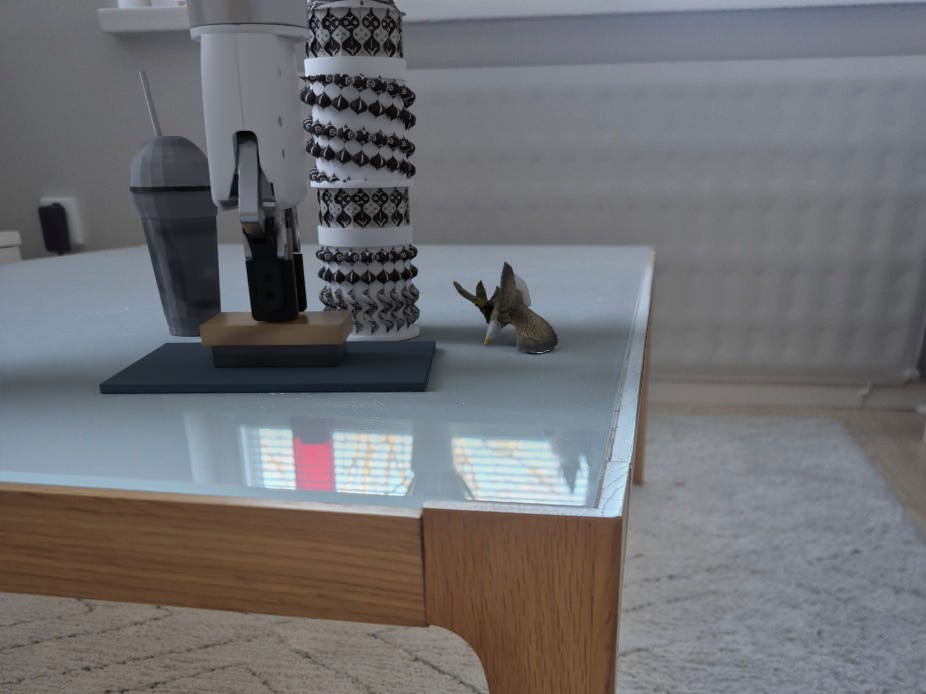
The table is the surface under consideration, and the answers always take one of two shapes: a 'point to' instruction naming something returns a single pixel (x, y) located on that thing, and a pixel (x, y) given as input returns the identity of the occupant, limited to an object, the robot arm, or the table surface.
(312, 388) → the mat
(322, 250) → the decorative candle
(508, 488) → the table surface
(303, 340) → the brush
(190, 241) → the beverage cup
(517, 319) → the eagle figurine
